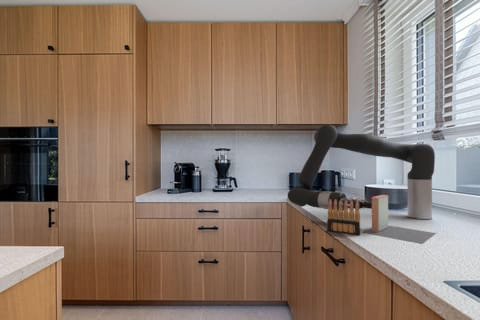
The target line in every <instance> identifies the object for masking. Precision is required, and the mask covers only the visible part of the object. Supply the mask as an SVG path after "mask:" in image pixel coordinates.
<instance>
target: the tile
mask: <svg viewBox="0 0 480 320" xmlns="http://www.w3.org/2000/svg"><path fill="white" fill-rule="evenodd" d="M371 202H372V209H371V228H372V232H380V231H382V230H384V229H387V228H388V226H389V195H388V194H380V195H376V196H372V197H371Z"/></svg>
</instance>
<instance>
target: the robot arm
mask: <svg viewBox="0 0 480 320" xmlns="http://www.w3.org/2000/svg"><path fill="white" fill-rule="evenodd" d="M313 139H314V142H315V143H314V147H313V148H312V151H311V153H310V155H309V156H308V159H307V160H306V162H305V163H304V165H303V167H302V169H301V172H300V174H299V176H298V179H297V182H298V183H299V187H293V188H291V189H289V190H288V192H287V199H288V201H290V202H291V203H292V204H294V205H296V206H298V207H305V206H307V205H308V206H310V207H312V208H317V209H323V210H327V211H328V206H329V200H330V199H331V202H332V211H333V208H334V201H335V199H336V201H337V210H339V202H340V200H341V201H342V208H343V212H344V203H345V200H347V204H348V210H350V202H351V200H352V202H353V209H354V210H355V205H356V201H358V203H359V210H360V209H371V210H372V201H368V200H366V199H362V198H355V197H347V196H346V194H345V193H344V192H338V191H337V192H336V191H327V190H325V191H319V190H313V185H314V182H315V180H316V179H317V176H318V173H319V171H320V168H321V167H322V164H323V162H324V161H325V157H326V155H327V154H328V152H329V150H330V149H331V148H333V149H334V148H335V149H342V150H347V151H350V152H354V153H359V154H364V155H369V156H373V157H381V158H392V159H396V160H400V161H403V162H407V163H410V164H411V169H410V171H408V173H407V217H409V218H413V219H420V220H432V219H433V175H434V173H435V161H436V154H435V150H434V148H433V147H432V146H431V144H428V143H422V142H420V143H414V144H413V143H411V144H410V143H400V142H395V141H393V140H390V139H388V138H386V137H383V136H378V135H374V134H369V133H368V134H367V133H343V132H342V133H341V132H339V131H338V130H337V128H336V127H335V126H334V125H332V124H324V125H321V126H320V127H318V129H316V132H314V136H313Z"/></svg>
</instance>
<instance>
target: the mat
mask: <svg viewBox="0 0 480 320" xmlns="http://www.w3.org/2000/svg"><path fill="white" fill-rule="evenodd" d="M361 233H362V234H367V235H372V236H378V237H383V238H389V239H395V240H398V241H405V242H409V243H415V244H420V245H423V244H424V243H426V242H427V241H428V240H430V239H431V238H432V237H433V236H435V235H436V234H437V232H431V231H425V230H419V229H412V228H407V227H406V228H405V227H400V226H395V225H388V228H387V229H384V230H382V231H380V232H372V227H371V228H368V229H366V230H363V231H360V234H361Z"/></svg>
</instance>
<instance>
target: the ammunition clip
mask: <svg viewBox="0 0 480 320" xmlns="http://www.w3.org/2000/svg"><path fill="white" fill-rule="evenodd" d="M360 213H361V212H360V209H359V203H358V201H356V205H355V209H353V202H352V200H351V202H350V209H348V204H347V200H345V203H344V211H343V208H342V201H341V200H340V202H339V210H337V201H336V199H335V201H334V208H333V210H332V202H331V199H330V200H329V206H328V210H327V224H326V225H327V228H326V232H329V233H336V234H344V235H352V236H353V235H354V236H361V214H360Z"/></svg>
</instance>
